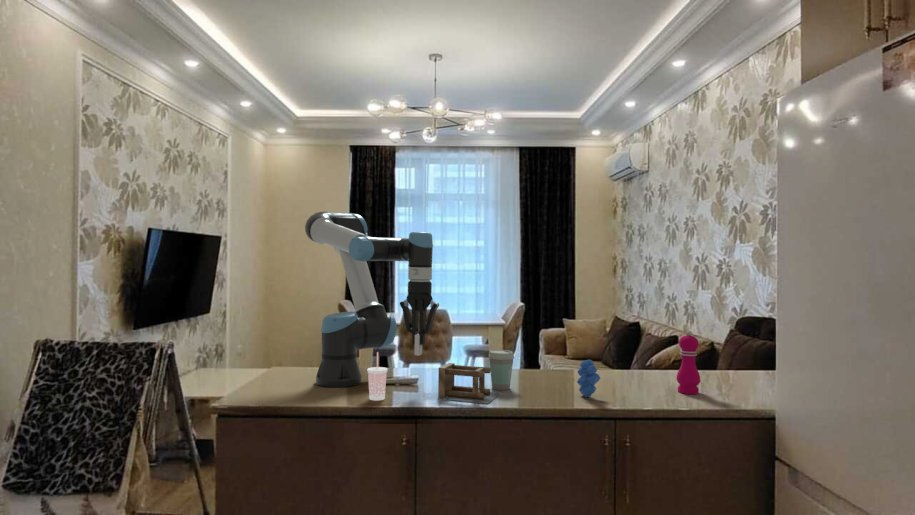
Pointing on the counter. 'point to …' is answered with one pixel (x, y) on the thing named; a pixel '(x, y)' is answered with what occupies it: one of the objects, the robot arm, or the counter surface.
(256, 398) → the counter surface
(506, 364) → the coffee cup
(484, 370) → the stool
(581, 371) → the grapes
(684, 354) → the pepper mill
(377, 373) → the beverage cup
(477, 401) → the mat
